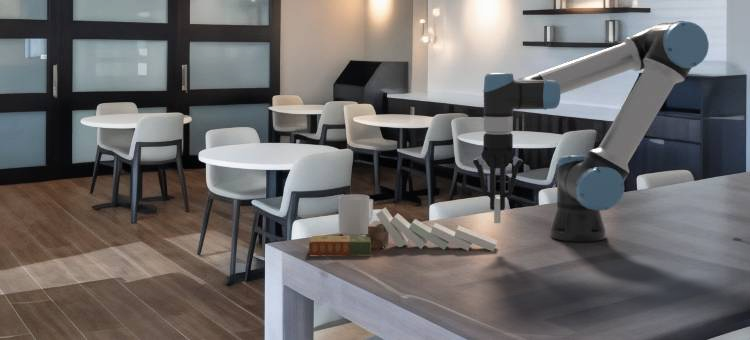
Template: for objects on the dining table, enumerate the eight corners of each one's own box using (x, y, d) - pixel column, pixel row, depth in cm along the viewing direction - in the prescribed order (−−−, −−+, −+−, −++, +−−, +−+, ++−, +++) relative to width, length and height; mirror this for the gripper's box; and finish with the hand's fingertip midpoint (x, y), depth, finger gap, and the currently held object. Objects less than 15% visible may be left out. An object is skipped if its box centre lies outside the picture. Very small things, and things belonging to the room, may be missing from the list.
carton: (311, 250, 231) (311, 235, 231) (371, 250, 231) (371, 234, 231) (309, 257, 223) (308, 241, 222) (371, 257, 223) (371, 240, 222)
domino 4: (473, 240, 232) (435, 222, 233) (471, 244, 227) (433, 226, 228) (469, 246, 232) (432, 229, 234) (468, 250, 227) (430, 233, 229)
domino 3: (450, 239, 233) (415, 218, 234) (448, 243, 228) (412, 222, 229) (446, 245, 233) (411, 225, 235) (444, 250, 229) (408, 228, 230)
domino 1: (408, 240, 235) (385, 207, 236) (405, 244, 231) (381, 210, 231) (402, 244, 236) (379, 211, 236) (399, 248, 231) (375, 214, 231)
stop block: (388, 242, 238) (388, 221, 238) (382, 248, 231) (382, 226, 230) (374, 242, 239) (374, 220, 238) (368, 248, 231) (367, 226, 231)
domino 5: (497, 240, 230) (458, 225, 232) (496, 244, 226) (456, 229, 227) (494, 247, 231) (456, 232, 232) (493, 251, 226) (454, 236, 227)
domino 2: (428, 239, 234) (397, 213, 235) (425, 243, 229) (394, 216, 230) (423, 245, 235) (393, 218, 236) (421, 249, 230) (389, 221, 231)
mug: (354, 239, 243) (354, 200, 241) (332, 235, 249) (331, 197, 247) (383, 232, 252) (382, 195, 250) (361, 229, 258) (360, 192, 256)
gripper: (524, 131, 226) (523, 220, 229) (474, 131, 229) (473, 218, 232) (522, 134, 219) (521, 225, 222) (471, 133, 222) (471, 224, 225)
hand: (497, 222), depth 227 cm, fingers closed
